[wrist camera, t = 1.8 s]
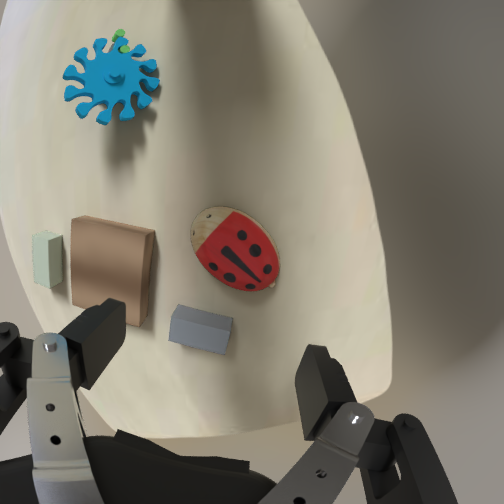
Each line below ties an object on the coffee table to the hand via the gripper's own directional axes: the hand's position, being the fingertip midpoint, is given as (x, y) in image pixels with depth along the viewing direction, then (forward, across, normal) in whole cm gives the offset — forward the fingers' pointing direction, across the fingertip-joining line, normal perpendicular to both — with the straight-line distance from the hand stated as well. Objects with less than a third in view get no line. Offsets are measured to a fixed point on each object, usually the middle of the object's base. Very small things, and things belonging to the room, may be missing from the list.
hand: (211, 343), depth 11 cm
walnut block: (+17, +13, +5) cm, 22 cm away
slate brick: (+16, +2, +9) cm, 19 cm away
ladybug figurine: (+17, 0, 0) cm, 17 cm away
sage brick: (+16, +22, +6) cm, 28 cm away
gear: (+16, +15, -15) cm, 27 cm away
